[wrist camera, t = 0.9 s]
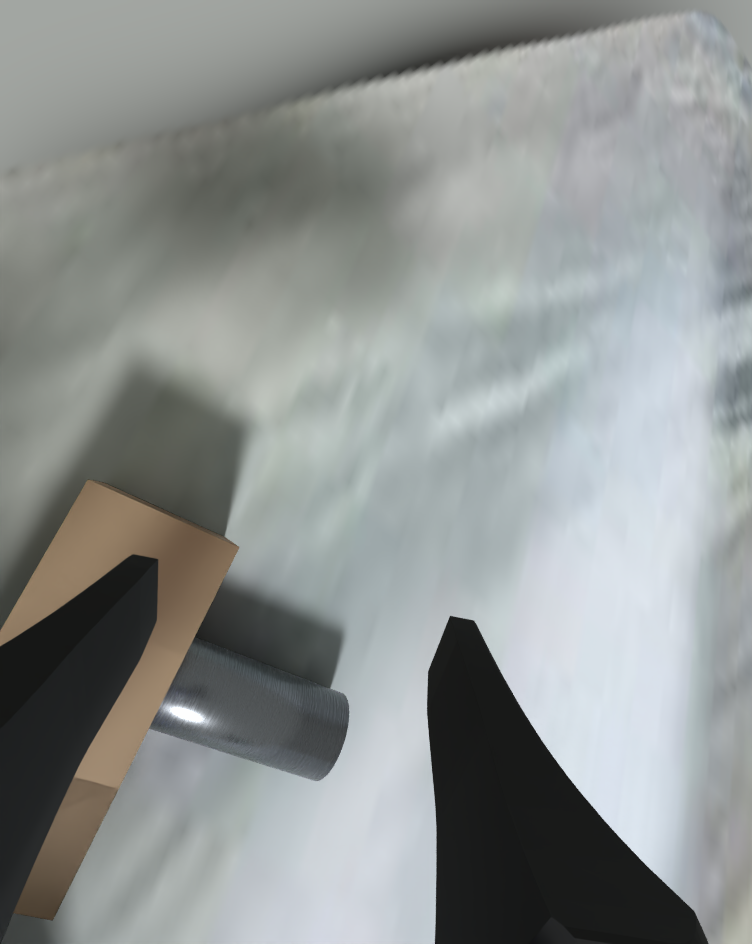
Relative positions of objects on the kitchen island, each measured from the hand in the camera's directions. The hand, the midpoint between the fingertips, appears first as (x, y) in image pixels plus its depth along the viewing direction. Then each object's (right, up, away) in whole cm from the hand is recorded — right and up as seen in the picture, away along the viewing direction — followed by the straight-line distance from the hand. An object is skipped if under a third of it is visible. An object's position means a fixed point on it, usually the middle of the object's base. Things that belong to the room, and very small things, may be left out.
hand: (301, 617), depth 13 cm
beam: (-11, -4, +11) cm, 16 cm away
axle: (-6, -6, +11) cm, 14 cm away
